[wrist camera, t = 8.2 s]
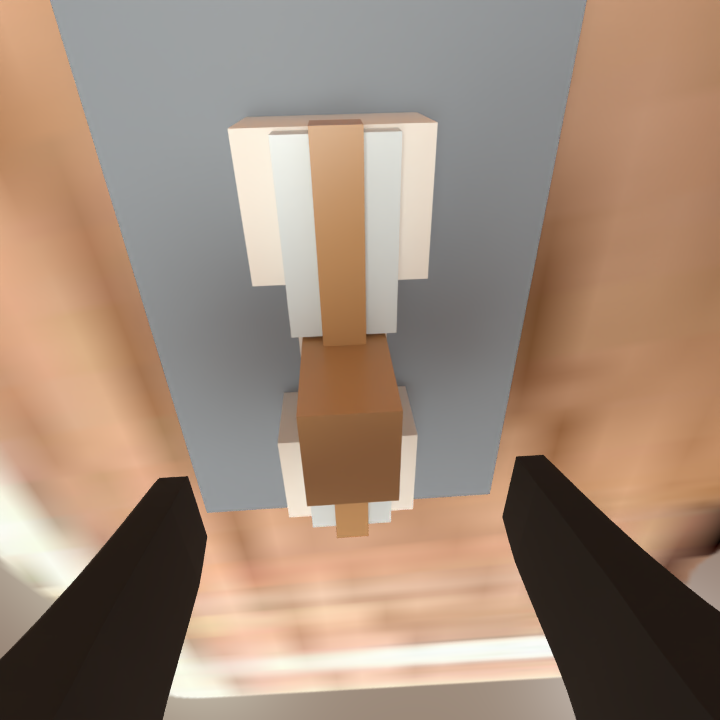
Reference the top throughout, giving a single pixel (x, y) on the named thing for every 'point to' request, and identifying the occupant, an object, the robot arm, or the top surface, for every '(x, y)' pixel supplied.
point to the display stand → (260, 220)
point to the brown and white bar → (343, 312)
